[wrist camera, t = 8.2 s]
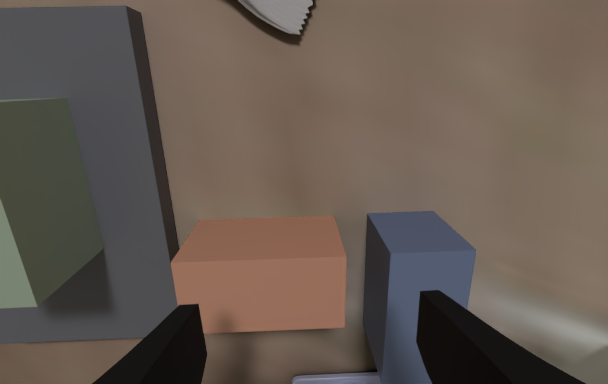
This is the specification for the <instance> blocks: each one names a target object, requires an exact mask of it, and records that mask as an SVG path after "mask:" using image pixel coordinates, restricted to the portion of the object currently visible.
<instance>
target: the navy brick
mask: <svg viewBox="0 0 608 384" xmlns="http://www.w3.org/2000/svg"><path fill="white" fill-rule="evenodd" d="M475 256H476V249H475V248H473V247H472V246H471V245H470V244H469V243H468V242H467V241H466V240H465V239H464V238H462V237H461V236H460V235H459V234H458V233H457V232H456V231H455V230H454V229H452V228H451V227H450V226H449V225H448V224H447V223H446V222H445V221H444V220H443V219H441V218H440V217H439V216H438V215H437V214H436V213H435V212H434V211H421V212H393V213H367V236H366V261H365V286H364V310H363V324H364V328H365V331H366V334H367V338H368V341H369V344H370V348H371V351H372V355H373V358H374V361H375V365H376V368H377V371H378V375H379V378H380V381H381V384H427V383H432V382H431V380H430V378H429V376H428V374H427V371H426V369H425V366H424V363H423V361H422V358H421V355H420V352H419V349H418V346H417V343H416V336H417V323H418V311H419V298H420V291H429V290H440V291H441V292H443V293H444V294H446V295H447V296H448V297H450V298H451V299H453V300H454V301H456V302H457V303H458V304H460V305H461V306H462V307H464V308H465V309H467V306H468V299H469V293H470V287H471V281H472V275H473V268H474V262H475Z"/></svg>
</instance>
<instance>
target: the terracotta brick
mask: <svg viewBox="0 0 608 384" xmlns="http://www.w3.org/2000/svg"><path fill="white" fill-rule="evenodd" d="M346 259H347V256H346V253H345V250H344V247H343V244H342V241H341V237H340V234H339V231H338V228H337V225H336V222H335V218H334V216H310V217H279V218H247V219H216V220H199V221H198V223H197V224H196V226H195V227H194V229H193V230H192V232H191V233H190V235H189V236H188V238H187V239H186V241H185V242H184V244H183V245H182V246H181V248H180V249H179V251H178V252H177V254H176V255H175V257H174V258H173V260H172V261H171V269H172V274H173V280H174V286H175V292H176V298H177V304H178V306H179V305H186V304H199V310H200V315H201V321H202V327H203V333H204V334H206V333H230V332H254V331H278V330H302V329H326V328H345V300H346Z"/></svg>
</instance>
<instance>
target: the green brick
mask: <svg viewBox="0 0 608 384" xmlns="http://www.w3.org/2000/svg"><path fill="white" fill-rule="evenodd" d="M102 249H104V246H103V242H102V238H101V234H100V230H99V226H98V222H97V218H96V214H95V210H94V206H93V202H92V198H91V194H90V190H89V186H88V182H87V178H86V174H85V170H84V166H83V162H82V158H81V154H80V150H79V146H78V142H77V137H76V133H75V129H74V125H73V121H72V117H71V113H70V109H69V105H68V101H67V98H42V99H9V100H0V308H21V307H38V306H39V305H40V304H41V303H42V302H43V301H44V300H46V299H47V298H48V297H49V296H50V295H51V294H52V293H54V292H55V291H56V290H57V289H58V288H59V287H60V286H62V285H63V284H64V283H65V282H66V281H67V280H68V279H69V278H71V277H72V276H73V275H74V274H75V273H76V272H77V271H79V270H80V269H81V268H82V267H83V266H84V265H85V264H87V263H88V262H89V261H90V260H91V259H92V258H93V257H94V256H96V255H97V254H98V253H99V252H100V251H101V250H102Z"/></svg>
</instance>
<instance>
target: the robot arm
mask: <svg viewBox="0 0 608 384" xmlns="http://www.w3.org/2000/svg"><path fill="white" fill-rule="evenodd" d="M416 343H417V346H418V349H419V352H420V355H421V358H422V361H423V363H424V366H425V369H426V371H427V374H428V376H429V378H430V380H431V382H432V384H585V383H584V382H581V381H580V380H578V379H576V378H574V377H572V376H570V375H569V374H567V373H565V372H563V371H562V370H560V369H558V368H556V367H554V366H553V365H551V364H549V363H547V362H546V361H544V360H542V359H540V358H539V357H537V356H535V355H534V354H532V353H531V352H529V351H527V350H526V349H524V348H523V347H521V346H519V345H518V344H516V343H515V342H513V341H512V340H510V339H509V338H507V337H506V336H504V335H502V334H501V333H499V332H498V331H497V330H495V329H494V328H492V327H491V326H489V325H488V324H486V323H485V322H483V321H482V320H481V319H479V318H478V317H476V316H475V315H474V314H472V313H471V312H469V311H468V310H467V309H465V308H464V307H462V306H461V305H460V304H458V303H457V302H456V301H454V300H453V299H451V298H450V297H448V296H447V295H446V294H444V293H443V292H441V291H440V290H429V291H420V298H419V311H418V323H417V336H416ZM206 358H207V351H206V345H205V339H204V333H203V327H202V321H201V315H200V310H199V304H186V305H179V306H178V307H177V308H176V309H174V310H173V311H172V312H171V313H170V314H169V315H168V316H167V317H166V318H165V319H164V320H163V321H162V322H161V323H160V324H159V325H158V326H157V327H156V328H155V329H153V330H152V331H151V332H150V333H149V334H148V335H147V336H146V337H145V338H144V339H143V340H142V341H141V342H140V343H139V344H137V345H136V346H135V347H134V348H133V349H132V350H131V351H130V352H129V353H128V354H126V355H125V356H124V357H123V358H122V359H121V360H120V361H118V362H117V363H116V364H115V365H114V366H113V367H111V368H110V369H109V370H108V371H107V372H106V373H104V374H103V375H102V376H101V377H100V378H99V379H97V380H96V381H95V382H94V383H92V384H201V382H202V377H203V373H204V368H205V363H206ZM292 384H381V381H380V378H379V375H378V372H362V373H342V374H321V375H300V376H295V377H294V378H293V379H292Z"/></svg>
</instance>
